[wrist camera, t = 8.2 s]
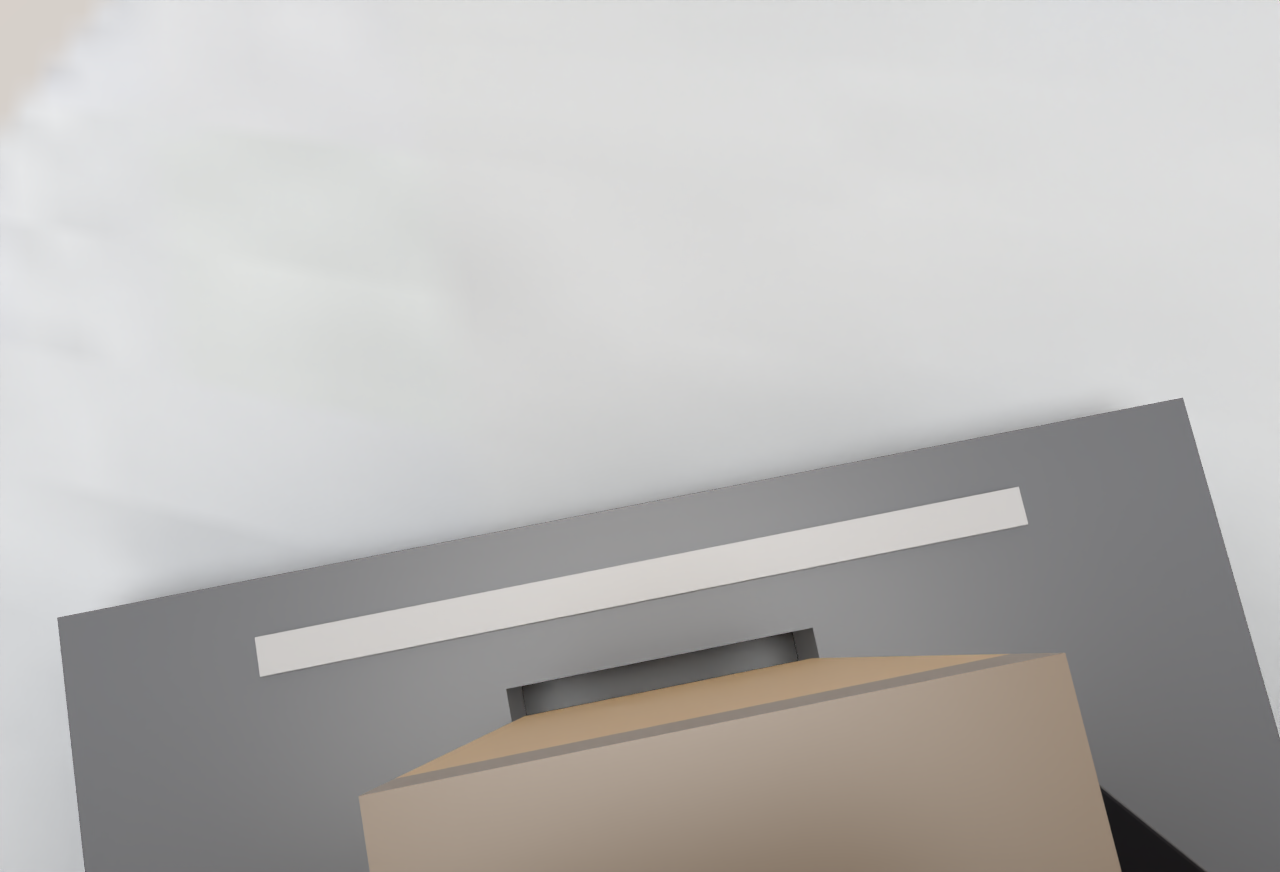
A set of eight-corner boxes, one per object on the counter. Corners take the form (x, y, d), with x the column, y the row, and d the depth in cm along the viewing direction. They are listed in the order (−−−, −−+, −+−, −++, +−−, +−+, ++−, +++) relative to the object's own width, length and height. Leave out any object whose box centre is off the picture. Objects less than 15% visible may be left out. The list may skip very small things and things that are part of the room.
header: (1247, 885, 20) (1338, 918, 18) (182, 1111, 20) (111, 1180, 17) (1121, 427, 22) (1188, 394, 19) (124, 622, 21) (51, 616, 19)
